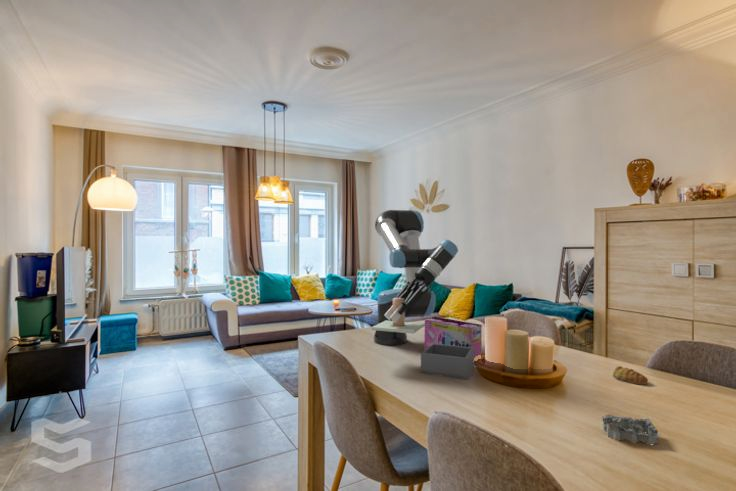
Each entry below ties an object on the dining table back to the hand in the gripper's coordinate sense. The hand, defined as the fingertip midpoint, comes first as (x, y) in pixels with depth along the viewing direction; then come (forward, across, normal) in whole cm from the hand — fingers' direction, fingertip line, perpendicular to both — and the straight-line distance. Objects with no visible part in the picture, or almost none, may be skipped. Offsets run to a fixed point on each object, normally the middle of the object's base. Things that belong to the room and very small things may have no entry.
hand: (389, 318), depth 145 cm
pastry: (-35, -43, -61) cm, 82 cm away
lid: (0, 0, -5) cm, 5 cm away
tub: (0, -12, -24) cm, 27 cm away
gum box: (-8, +2, -33) cm, 34 cm away
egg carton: (-9, -68, -36) cm, 77 cm away
